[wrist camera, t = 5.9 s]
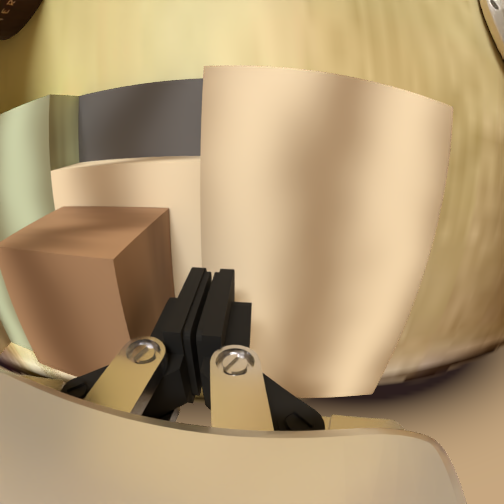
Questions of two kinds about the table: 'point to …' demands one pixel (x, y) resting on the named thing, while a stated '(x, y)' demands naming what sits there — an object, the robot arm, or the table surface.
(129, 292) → the walnut block
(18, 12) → the coffee mug
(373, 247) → the platform
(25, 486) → the robot arm
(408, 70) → the table surface
